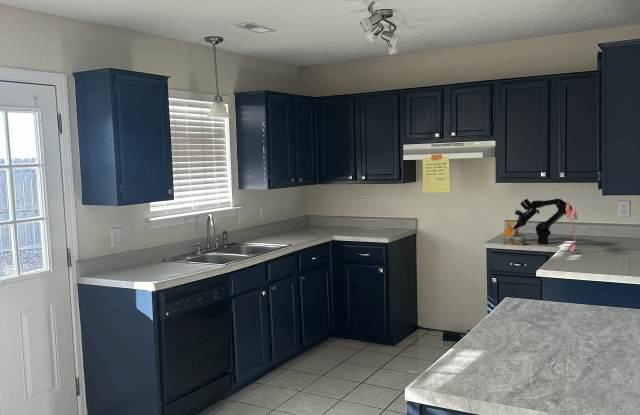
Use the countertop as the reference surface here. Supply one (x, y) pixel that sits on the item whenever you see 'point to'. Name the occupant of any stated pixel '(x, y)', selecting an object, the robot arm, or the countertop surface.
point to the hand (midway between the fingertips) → (513, 228)
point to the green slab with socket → (514, 240)
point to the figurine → (570, 215)
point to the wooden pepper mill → (515, 231)
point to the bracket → (508, 230)
